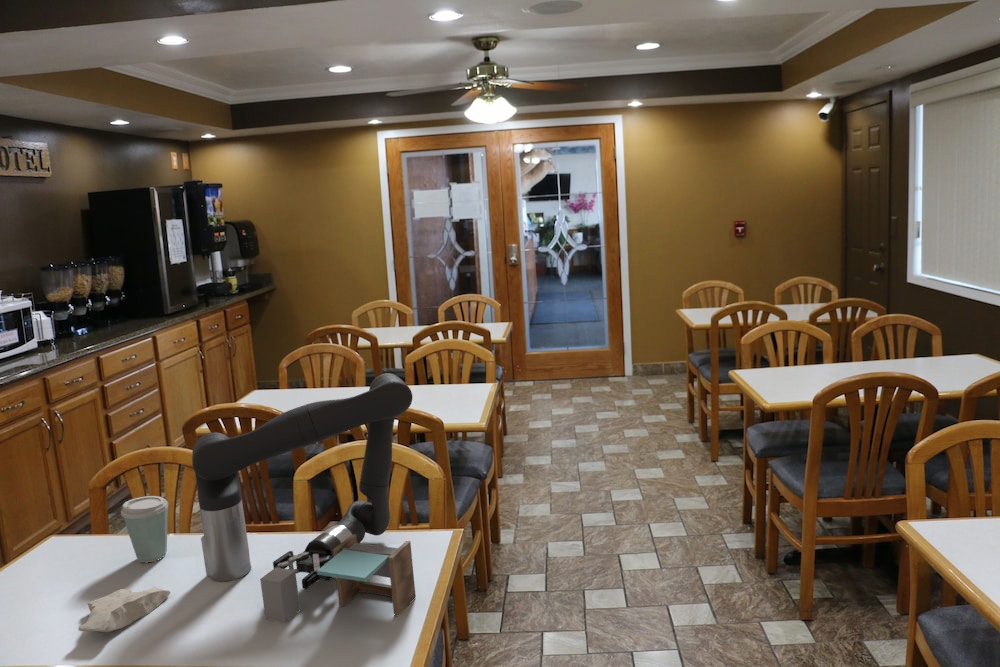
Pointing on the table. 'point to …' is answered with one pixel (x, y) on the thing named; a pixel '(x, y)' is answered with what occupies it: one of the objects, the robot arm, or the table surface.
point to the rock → (122, 608)
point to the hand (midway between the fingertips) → (286, 582)
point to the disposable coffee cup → (147, 526)
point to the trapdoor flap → (358, 563)
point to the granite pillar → (280, 594)
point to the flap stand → (399, 588)
